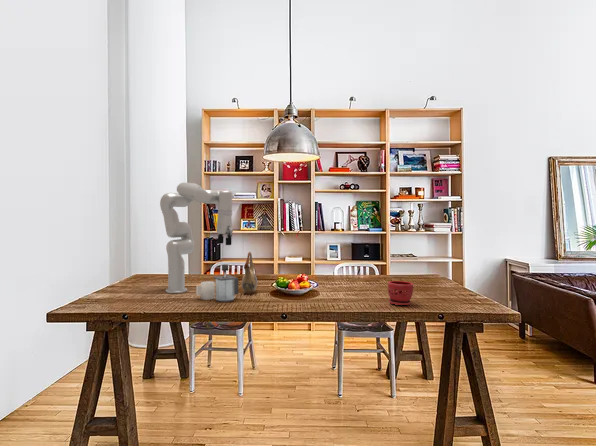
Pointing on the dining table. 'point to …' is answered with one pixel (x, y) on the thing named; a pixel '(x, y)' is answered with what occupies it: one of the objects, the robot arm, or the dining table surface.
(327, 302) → the dining table surface
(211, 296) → the mug
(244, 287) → the ceramic vessel
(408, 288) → the plant pot
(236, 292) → the press carafe
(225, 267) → the plunger
